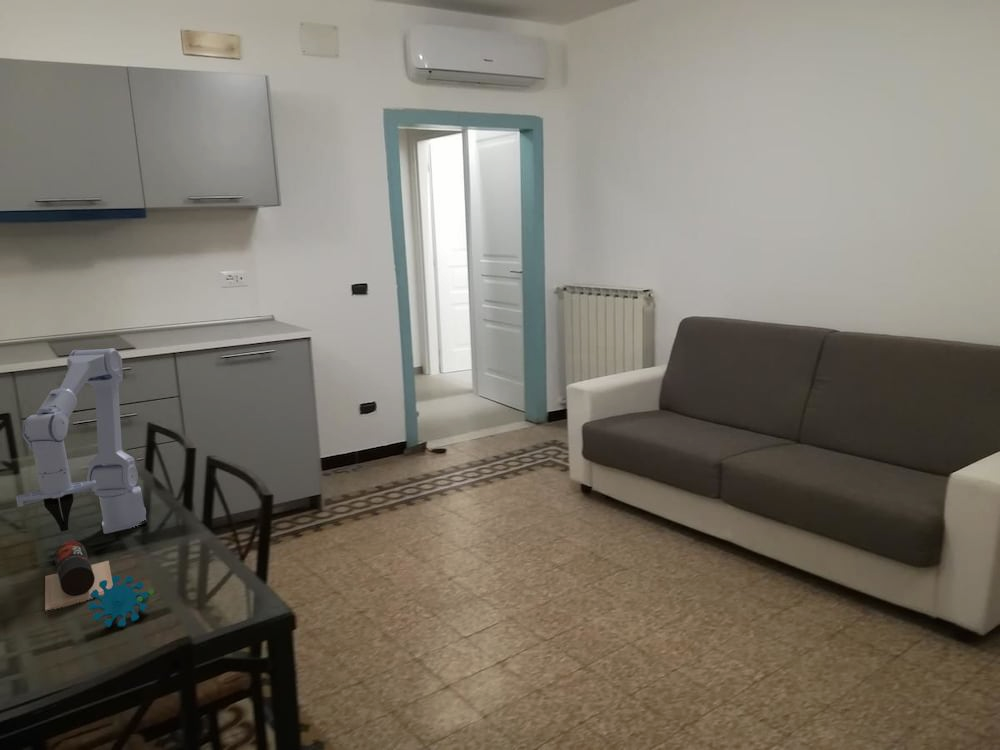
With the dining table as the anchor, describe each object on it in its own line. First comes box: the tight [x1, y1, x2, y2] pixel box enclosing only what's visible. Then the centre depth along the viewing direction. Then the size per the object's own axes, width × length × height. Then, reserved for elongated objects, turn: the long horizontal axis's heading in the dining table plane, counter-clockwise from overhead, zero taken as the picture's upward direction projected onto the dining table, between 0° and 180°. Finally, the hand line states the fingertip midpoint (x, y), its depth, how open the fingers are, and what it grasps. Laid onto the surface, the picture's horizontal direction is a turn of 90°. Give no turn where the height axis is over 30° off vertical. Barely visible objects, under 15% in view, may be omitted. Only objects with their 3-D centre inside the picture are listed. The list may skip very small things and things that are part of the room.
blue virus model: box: [88, 574, 155, 628], centre depth 140 cm, size 11×6×10 cm
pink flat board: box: [44, 560, 113, 612], centre depth 152 cm, size 12×16×1 cm
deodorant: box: [53, 540, 95, 596], centre depth 153 cm, size 6×6×15 cm
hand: (64, 529), depth 157 cm, fingers closed
